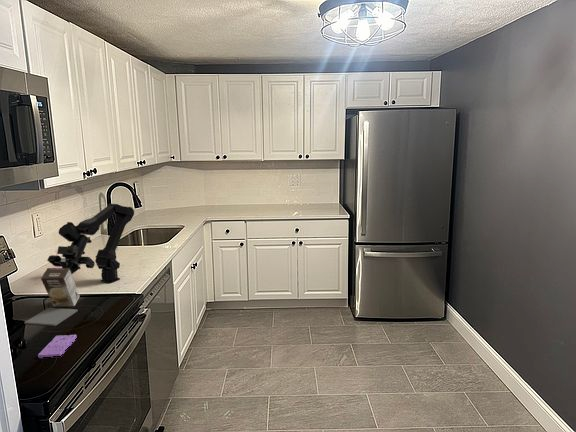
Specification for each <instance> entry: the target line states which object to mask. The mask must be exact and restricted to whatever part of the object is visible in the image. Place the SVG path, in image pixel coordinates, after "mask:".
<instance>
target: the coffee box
mask: <svg viewBox="0 0 576 432" xmlns="http://www.w3.org/2000/svg"><path fill="white" fill-rule="evenodd" d="M40 279H41V282H42V284H43V286H44V289H45V291H46V293H47V296H48V298H49V300H50V302H51V304H52V308H56V307H57V308H58V307H75V306H76V304H77V302H78V300H79V299H80V294H79V290H78V288H77V285H76V283H75V280H74V277H73V274H71V272H70V269H69V268H52V267H47V268H46V270H45V272H44V273H43V274H42V276H41V277H40Z"/></svg>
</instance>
